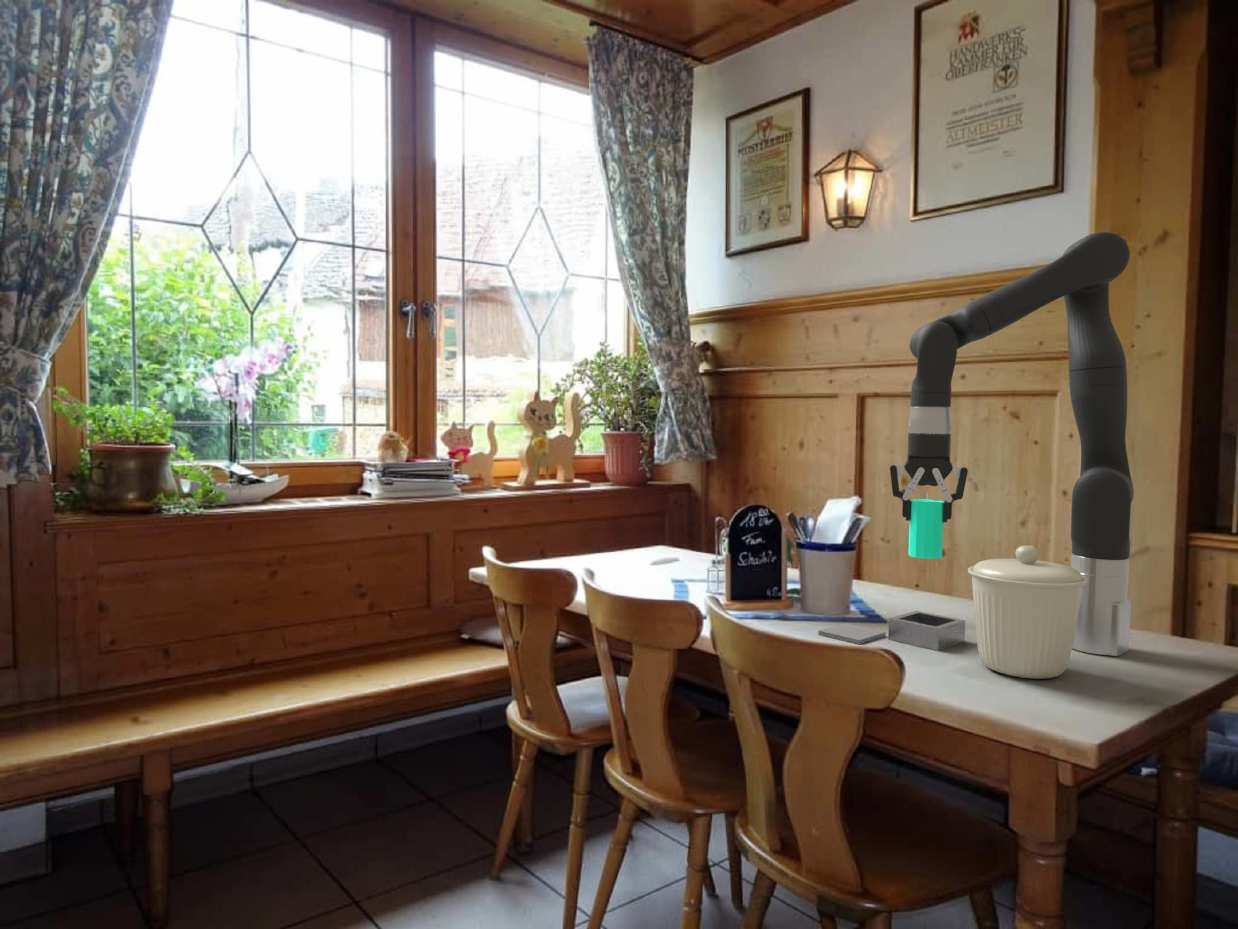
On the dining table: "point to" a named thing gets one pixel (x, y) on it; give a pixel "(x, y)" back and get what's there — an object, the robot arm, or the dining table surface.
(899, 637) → the grey open box
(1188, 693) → the dining table surface
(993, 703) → the dining table surface
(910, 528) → the candle
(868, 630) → the coaster
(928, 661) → the dining table surface
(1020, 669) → the canister
